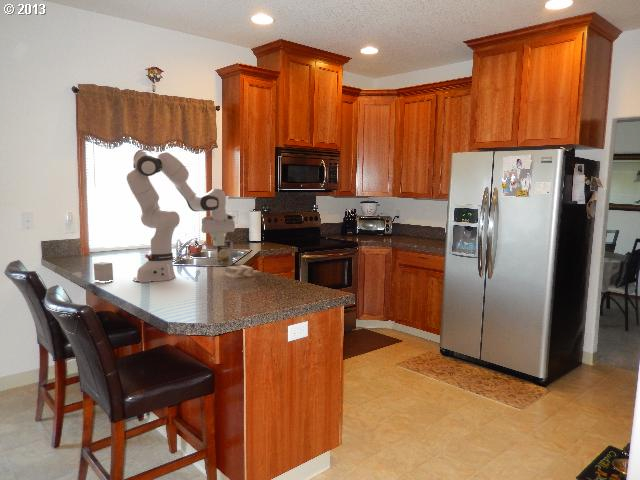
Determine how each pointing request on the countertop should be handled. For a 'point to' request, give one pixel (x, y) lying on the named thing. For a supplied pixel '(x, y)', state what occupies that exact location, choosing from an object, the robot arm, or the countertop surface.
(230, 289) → the countertop surface
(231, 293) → the countertop surface
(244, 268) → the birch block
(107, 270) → the small box
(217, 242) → the green block
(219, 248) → the coffee box
